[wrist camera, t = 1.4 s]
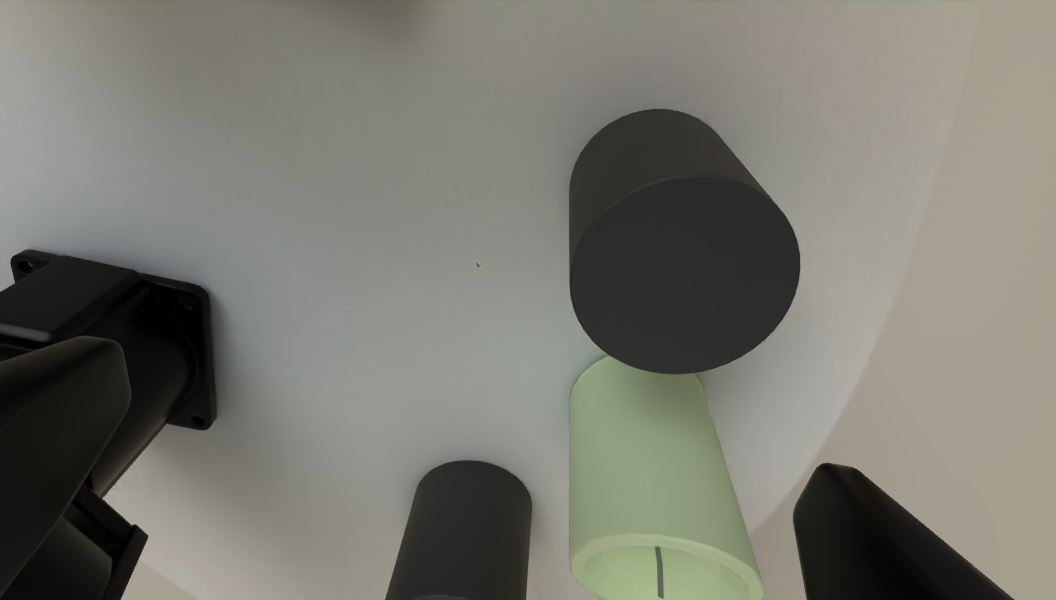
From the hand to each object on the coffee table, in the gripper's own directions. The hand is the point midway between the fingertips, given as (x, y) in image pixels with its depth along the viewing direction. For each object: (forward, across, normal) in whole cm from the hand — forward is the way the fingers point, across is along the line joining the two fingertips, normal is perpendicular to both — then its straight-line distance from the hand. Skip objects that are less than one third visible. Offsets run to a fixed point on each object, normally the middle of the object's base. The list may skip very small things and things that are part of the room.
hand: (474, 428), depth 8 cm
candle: (+12, -6, +8) cm, 16 cm away
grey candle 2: (+12, -4, 0) cm, 13 cm away
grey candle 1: (+12, 0, +15) cm, 19 cm away
